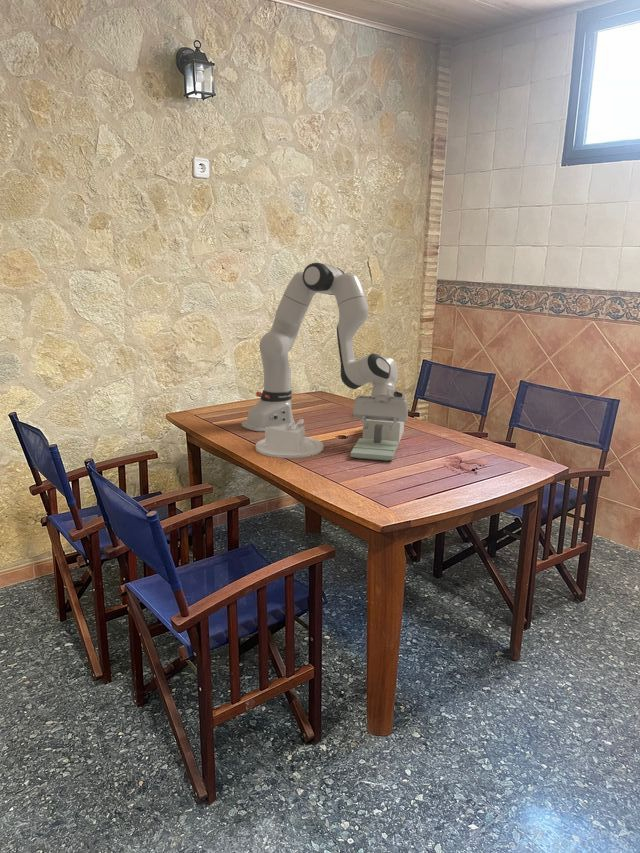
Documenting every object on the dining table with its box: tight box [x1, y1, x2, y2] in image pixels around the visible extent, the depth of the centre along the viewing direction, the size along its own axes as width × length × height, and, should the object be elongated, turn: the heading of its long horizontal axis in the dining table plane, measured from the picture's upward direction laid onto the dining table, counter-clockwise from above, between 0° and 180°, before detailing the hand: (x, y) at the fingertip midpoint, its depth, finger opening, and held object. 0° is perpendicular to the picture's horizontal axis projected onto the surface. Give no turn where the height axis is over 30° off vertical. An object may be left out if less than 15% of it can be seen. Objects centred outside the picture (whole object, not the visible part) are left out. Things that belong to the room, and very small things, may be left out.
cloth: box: [440, 454, 489, 474], centre depth 214 cm, size 20×22×2 cm
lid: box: [349, 424, 399, 462], centre depth 226 cm, size 19×15×9 cm
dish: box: [255, 418, 325, 459], centre depth 230 cm, size 25×25×11 cm
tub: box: [362, 419, 405, 444], centre depth 248 cm, size 18×14×8 cm
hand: (378, 429), depth 230 cm, fingers open, 8 cm apart
